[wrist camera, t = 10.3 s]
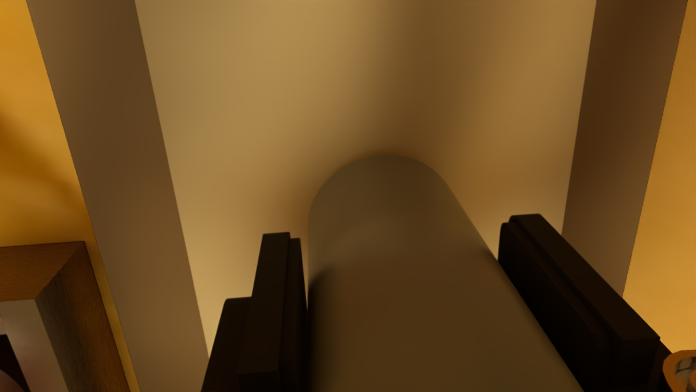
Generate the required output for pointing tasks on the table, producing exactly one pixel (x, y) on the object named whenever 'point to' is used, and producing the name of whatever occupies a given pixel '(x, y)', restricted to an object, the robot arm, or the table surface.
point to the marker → (414, 293)
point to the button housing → (55, 322)
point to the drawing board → (340, 131)
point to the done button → (8, 384)
